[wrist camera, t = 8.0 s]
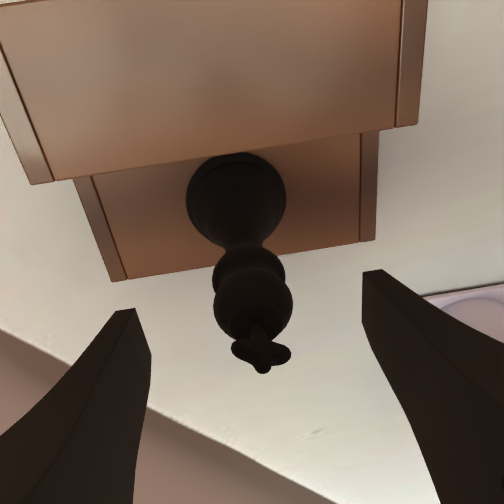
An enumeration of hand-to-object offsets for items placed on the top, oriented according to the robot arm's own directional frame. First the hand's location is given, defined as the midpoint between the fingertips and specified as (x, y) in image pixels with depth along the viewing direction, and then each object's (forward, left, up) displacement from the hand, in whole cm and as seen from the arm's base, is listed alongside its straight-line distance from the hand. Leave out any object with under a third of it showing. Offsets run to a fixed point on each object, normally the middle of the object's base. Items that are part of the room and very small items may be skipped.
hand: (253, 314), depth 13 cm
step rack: (+3, 0, -10) cm, 10 cm away
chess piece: (+1, 0, -7) cm, 7 cm away
